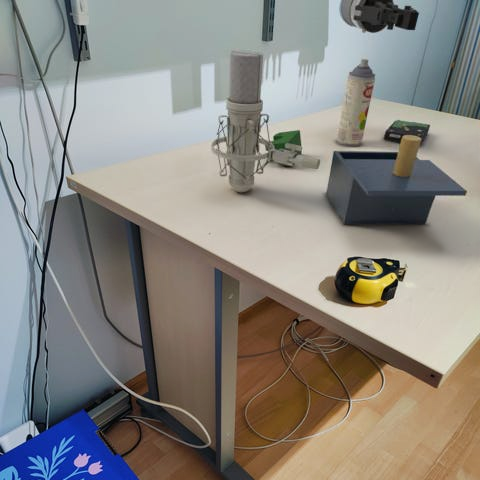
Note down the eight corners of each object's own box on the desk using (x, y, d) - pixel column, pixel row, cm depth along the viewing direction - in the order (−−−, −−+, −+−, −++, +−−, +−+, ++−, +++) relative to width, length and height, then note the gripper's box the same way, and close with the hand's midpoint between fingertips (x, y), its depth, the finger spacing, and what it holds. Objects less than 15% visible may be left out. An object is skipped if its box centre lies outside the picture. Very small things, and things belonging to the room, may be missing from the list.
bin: (398, 194, 91) (410, 151, 85) (425, 224, 80) (441, 178, 75) (326, 194, 90) (333, 150, 84) (343, 224, 79) (353, 177, 73)
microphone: (298, 221, 80) (319, 69, 64) (199, 193, 87) (196, 52, 72) (322, 198, 88) (346, 59, 72) (230, 175, 96) (233, 45, 80)
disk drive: (420, 147, 117) (427, 133, 128) (423, 137, 116) (430, 123, 126) (382, 141, 121) (393, 128, 131) (385, 130, 119) (395, 118, 129)
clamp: (279, 171, 111) (279, 134, 109) (301, 169, 109) (301, 131, 107) (263, 166, 100) (262, 125, 98) (287, 164, 98) (287, 121, 96)
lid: (427, 164, 79) (440, 125, 75) (465, 195, 68) (482, 153, 64) (343, 163, 78) (350, 124, 74) (367, 195, 67) (377, 151, 63)
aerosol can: (356, 148, 114) (374, 63, 102) (332, 143, 117) (347, 59, 104) (364, 142, 119) (382, 59, 106) (341, 137, 121) (356, 56, 109)
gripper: (395, 32, 98) (440, 46, 80) (340, 30, 97) (373, 44, 79) (404, -9, 94) (454, -3, 76) (347, -12, 93) (384, -7, 74)
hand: (413, 21), depth 77 cm, fingers closed
